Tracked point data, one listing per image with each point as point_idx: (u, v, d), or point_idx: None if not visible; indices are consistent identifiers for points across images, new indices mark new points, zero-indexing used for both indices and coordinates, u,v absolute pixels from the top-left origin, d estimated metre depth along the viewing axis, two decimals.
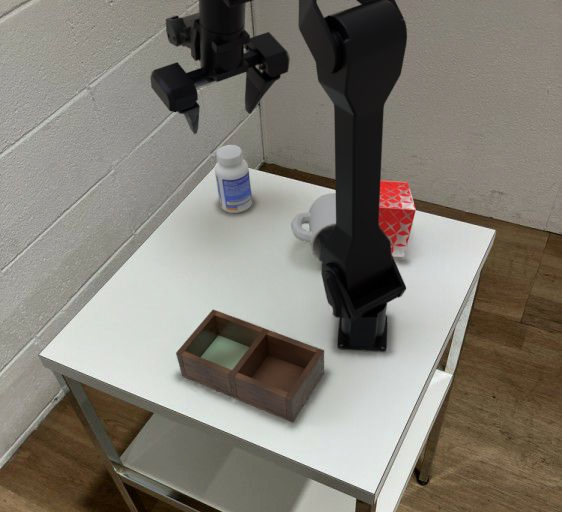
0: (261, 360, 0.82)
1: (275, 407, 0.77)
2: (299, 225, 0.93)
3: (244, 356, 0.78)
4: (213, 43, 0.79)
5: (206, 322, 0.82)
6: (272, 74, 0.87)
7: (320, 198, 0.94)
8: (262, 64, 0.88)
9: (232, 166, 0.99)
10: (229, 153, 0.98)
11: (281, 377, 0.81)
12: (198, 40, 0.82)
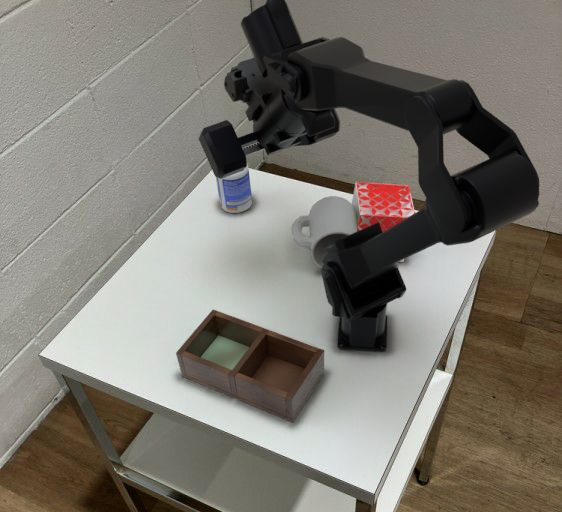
0: (261, 360, 0.82)
1: (275, 407, 0.77)
2: (299, 231, 0.93)
3: (244, 356, 0.78)
4: (277, 135, 0.77)
5: (206, 322, 0.82)
6: (319, 140, 0.86)
7: (320, 201, 0.94)
8: None
9: None
10: None
11: (281, 377, 0.81)
12: (259, 109, 0.79)
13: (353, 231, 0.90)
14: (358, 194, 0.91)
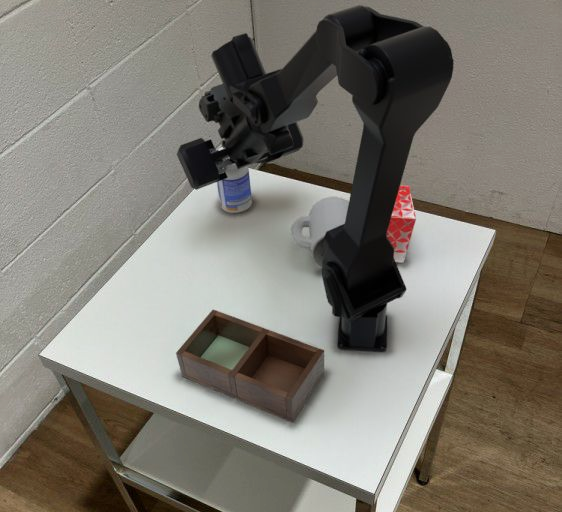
0: (261, 360, 0.82)
1: (275, 407, 0.77)
2: (299, 231, 0.92)
3: (244, 356, 0.78)
4: (244, 152, 0.88)
5: (206, 322, 0.82)
6: (285, 155, 0.97)
7: (320, 202, 0.94)
8: None
9: (232, 166, 0.99)
10: None
11: (281, 377, 0.81)
12: (229, 128, 0.89)
13: None
14: None
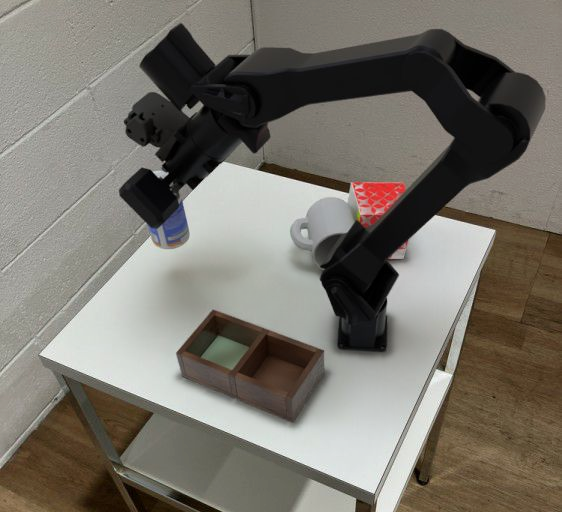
0: (261, 360, 0.82)
1: (275, 407, 0.77)
2: (299, 233, 0.92)
3: (244, 356, 0.78)
4: (207, 165, 0.74)
5: (206, 322, 0.82)
6: None
7: (317, 203, 0.94)
8: None
9: None
10: None
11: (281, 377, 0.81)
12: (173, 145, 0.74)
13: None
14: (355, 194, 0.91)
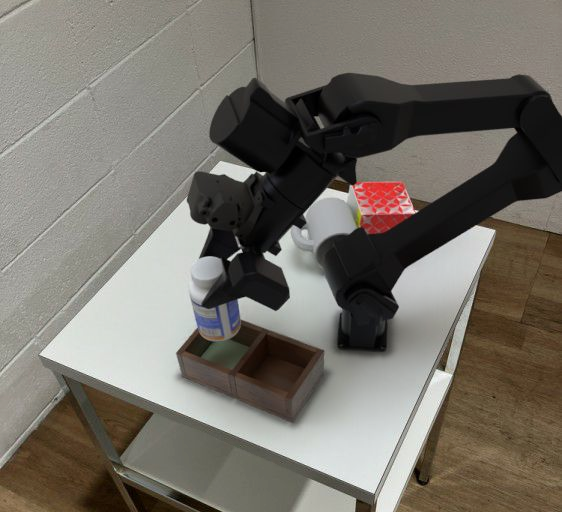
0: (261, 360, 0.82)
1: (275, 407, 0.77)
2: (300, 234, 0.92)
3: (244, 356, 0.78)
4: (299, 220, 0.66)
5: None
6: None
7: (317, 203, 0.94)
8: None
9: None
10: (212, 267, 0.71)
11: (281, 377, 0.81)
12: None
13: None
14: (355, 194, 0.91)
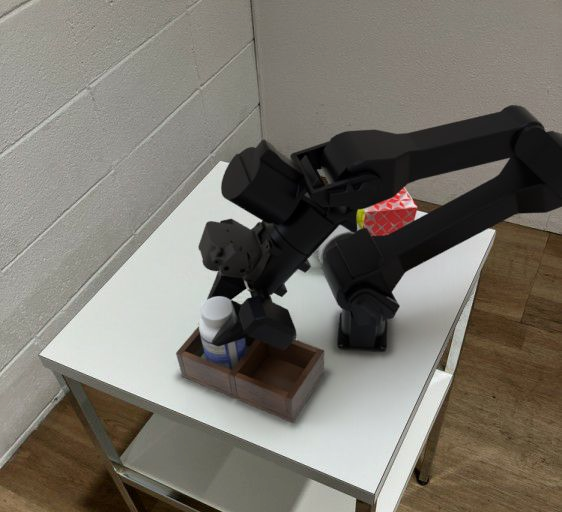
0: (261, 360, 0.82)
1: (275, 407, 0.77)
2: None
3: (244, 356, 0.78)
4: (304, 264, 0.71)
5: None
6: None
7: None
8: None
9: None
10: (221, 307, 0.75)
11: (281, 377, 0.81)
12: None
13: None
14: None
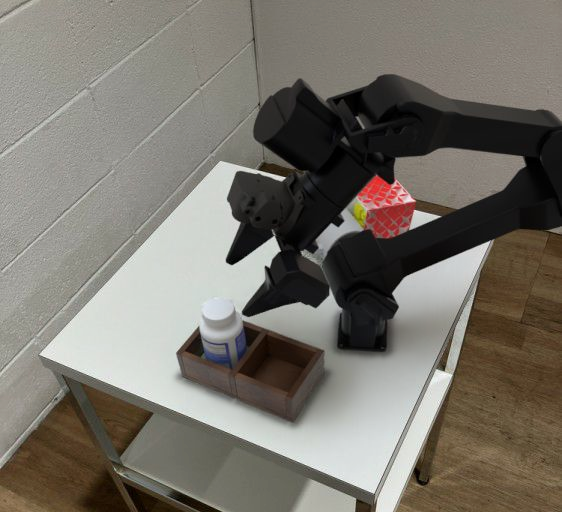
0: (261, 360, 0.82)
1: (275, 407, 0.77)
2: None
3: (244, 356, 0.78)
4: (337, 218, 0.67)
5: None
6: None
7: None
8: None
9: None
10: (222, 307, 0.75)
11: (281, 377, 0.81)
12: None
13: (361, 227, 0.90)
14: None
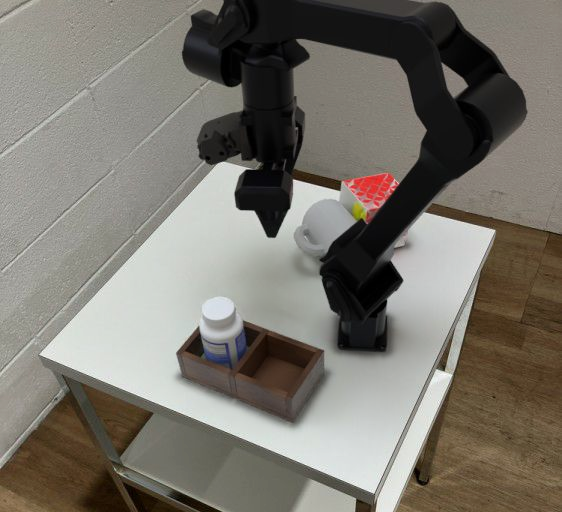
0: (261, 360, 0.82)
1: (275, 407, 0.77)
2: (306, 241, 0.91)
3: (244, 356, 0.78)
4: (284, 119, 0.69)
5: None
6: (303, 133, 0.80)
7: (314, 208, 0.93)
8: None
9: None
10: (222, 307, 0.75)
11: (281, 377, 0.81)
12: (248, 136, 0.72)
13: None
14: (352, 191, 0.92)
